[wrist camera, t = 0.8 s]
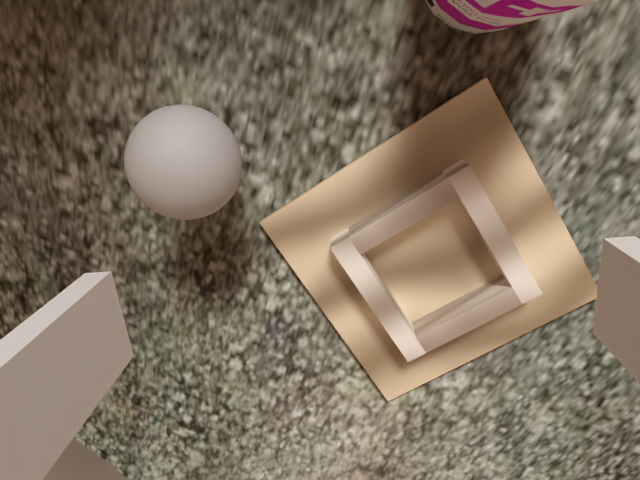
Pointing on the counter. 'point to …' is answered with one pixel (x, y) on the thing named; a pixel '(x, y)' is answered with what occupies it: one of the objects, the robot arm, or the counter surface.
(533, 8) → the supplement can
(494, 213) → the socket base
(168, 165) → the lightbulb
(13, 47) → the counter surface
